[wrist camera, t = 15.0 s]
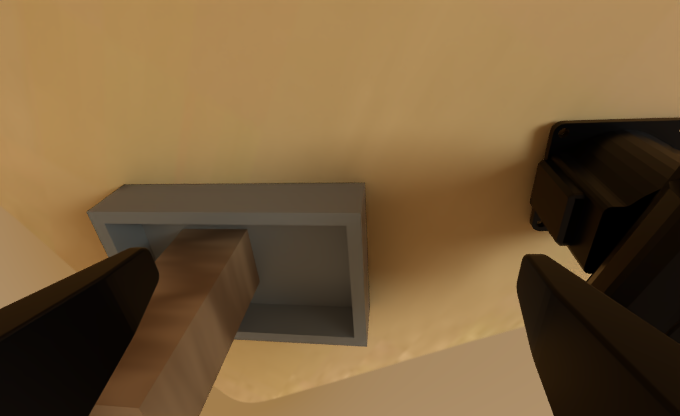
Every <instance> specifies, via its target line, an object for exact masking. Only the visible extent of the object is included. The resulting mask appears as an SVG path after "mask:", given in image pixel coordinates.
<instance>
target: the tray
mask: <svg viewBox="0 0 680 416" xmlns="http://www.w3.org/2000/svg"><path fill="white" fill-rule="evenodd" d="M87 214H88V216H89V218H90V220H91V222H92V224H93V226H94V228H95V231H96V233H97V235H98V237H99V239H100V241H101V243H102V245H103V247H104V249H105V251H106V253H107V255H108V257H111V256H113V255H115V254H117V253H119V252H122V251H124V250H126V249H128V248H131V247H144V248H147V249H148V250H149V251H150V252H151V254H152V257H153V259H154V261H156V259H157V258H158V257H159V256H160V255H161V254H162V253H163V251H164V250H165V249H166V248H167V247H168V246H169V245H170V243H171V242H172V241H173V240H174V239H175V238H176V237H177V235H178V234H179V233H180V232H181V231H182V230H183V229H247V230H248V234H249V239H250V243H251V247H252V251H253V255H254V259H255V263H256V267H257V271H258V276H259V280H260V282H259V285H258V287H257V289H256V291H255V293H254V296H253V298H252V300H251V302H250V304H249V307H248V309H247V311H246V313H245V316H244V318H243V320H242V322H241V324H240V327H239V329H238V331H237V333H236V335H235V338H234V339H237V340H256V341H274V342H292V343H310V344H329V345H347V346H365V347H367V339H368V325H369V310H370V303H369V276H368V250H367V224H366V198H365V183H274V184H137V185H123V186H121V187H120V188H119V189H117V190H116V191H114V192H113V193H112V194H110V195H109V196H108V197H106V198H105V199H103V200H102V201H101V202H99V203H98V204H97V205H95V206H94V207H92V208H91V209H90V210H88V211H87Z"/></svg>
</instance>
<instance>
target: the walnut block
mask: <svg viewBox="0 0 680 416" xmlns="http://www.w3.org/2000/svg"><path fill="white" fill-rule="evenodd" d="M155 264H156V266H157V269H158V271H159V281H158V284H157V286H156V288H155V291H154V293H153V295H152V297H151V300H150V302H149V304H148V306H147V309H146V311H145V313H144V315H143V318H142V320H141V322H140V324H139V327H138V329H137V331H136V333H135V335H134V337H133V339H132V340H131V342H130V344H129V346H128V348H127V349H126V351H125V353H124V355H123V357H122V358H121V360H120V362H119V364H118V365H117V367H116V369H115V371H114V372H113V374H112V376H111V378H110V379H109V381H108V383H107V385H106V386H105V388H104V390H103V392H102V393H101V395H100V397H99V399H98V401H97V402H96V404H95V406H94V408H93V409H92V411H91V413H90V415H89V416H199V415H200V413H201V411H202V408H203V406H204V404H205V402H206V400H207V397H208V395H209V393H210V391H211V388H212V386H213V384H214V382H215V380H216V377H217V375H218V373H219V371H220V369H221V366H222V364H223V362H224V360H225V358H226V355H227V353H228V351H229V349H230V347H231V344H232V342H233V340H234V338H235V335H236V333H237V331H238V329H239V327H240V324H241V322H242V320H243V318H244V316H245V313H246V311H247V309H248V307H249V304H250V302H251V300H252V298H253V296H254V293H255V291H256V289H257V287H258V285H259V282H260V280H259V276H258V271H257V267H256V263H255V259H254V255H253V251H252V247H251V243H250V239H249V234H248V230H247V229H183V230H182V231H181V232H180V233H179V234H178V235H177V237H176V238H175V239H174V240H173V241H172V242H171V243H170V245H169V246H168V247H167V248H166V249H165V250H164V251H163V253H162V254H161V255H160V256H159V257H158V258H157V259H156V261H155Z"/></svg>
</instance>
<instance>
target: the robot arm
mask: <svg viewBox="0 0 680 416" xmlns="http://www.w3.org/2000/svg"><path fill="white" fill-rule="evenodd" d="M563 128H566V131H565V133H564V134H562V135H558V133H559V131H560V130H561V129H563ZM679 130H680V118H645V119H610V120H575V121H560V122H557V123H556V124H554V125H553V126H552V128H551V130H550V135H549V139H548V143H547V148H546V152H545V156H544V160H542V161H541V162H540V163H539V164H538V168H537V172H536V177H535V181H534V186H533V190H532V195H531V199H530V204H531V205H532V207H533V209H532V213H531V217H530V224H531V225H532V227H533V229H535V230H537V231H549V233H550V234H551V236H552V237H553V239H554V240H555V242H556V243H557V244H558V245H560V246H567V247H568V248H569V250H570V251H571V253H572V254H573V256H574V257H575V259H576V260H577V262H578V263H579V265H580V266H581V267H582V269H583V270H584V272H586V273H589V274H592V275H591V276H590V277H589V279H588V280H587V281H584V280H583V279H581V278H580V277H578V276H577V275H575V274H574V273H572V272H571V271H569V270H568V269H566V268H565V267H563V266H562V265H560V264H559V263H557V262H556V261H554V260H553V259H551V258H550V257H548V256H546V255H543V254H526V255H525V256H524V257H523V259H522V262H521V267H520V271H519V275H518V280H517V294H518V299H519V303H520V307H521V311H522V315H523V320H524V324H525V328H526V332H527V337H528V341H529V345H530V349H531V353H532V356H533V359H534V362H535V365H536V368H537V371H538V373H539V376H540V379H541V382H542V385H543V387H544V390H545V393H546V395H547V398H548V401H549V404H550V406H551V409H552V412H553V415H554V416H680V132H679ZM540 220H542V223H539V224H537V222H538V221H540ZM158 281H159V271H158V269H157V266H156V264H155V261H154V259H153V257H152V254H151V252H150V251H149V250H148V249H147V248H144V247H131V248H128V249H126V250H124V251H122V252H119V253H117V254H115V255H113V256H111V257H109V258H107V259H105V260H103V261H100V262H98V263H96V264H94V265H92V266H90V267H88V268H86V269H84V270H81V271H79V272H77V273H75V274H73V275H71V276H69V277H67V278H65V279H63V280H60V281H58V282H56V283H54V284H52V285H50V286H48V287H46V288H43V289H41V290H39V291H37V292H35V293H33V294H31V295H29V296H27V297H24V298H22V299H20V300H18V301H16V302H14V303H12V304H10V305H8V306H5V307H3V308H1V309H0V416H89V415H90V413H91V411H92V409H93V408H94V406H95V404H96V402H97V401H98V399H99V397H100V395H101V393H102V392H103V390H104V388H105V386H106V385H107V383H108V381H109V379H110V378H111V376H112V374H113V372H114V371H115V369H116V367H117V365H118V364H119V362H120V360H121V358H122V357H123V355H124V353H125V351H126V349H127V348H128V346H129V344H130V342H131V340H132V339H133V337H134V335H135V333H136V331H137V329H138V327H139V324H140V322H141V320H142V318H143V315H144V313H145V311H146V309H147V306H148V304H149V302H150V300H151V297H152V295H153V293H154V291H155V288H156V286H157V284H158Z"/></svg>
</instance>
